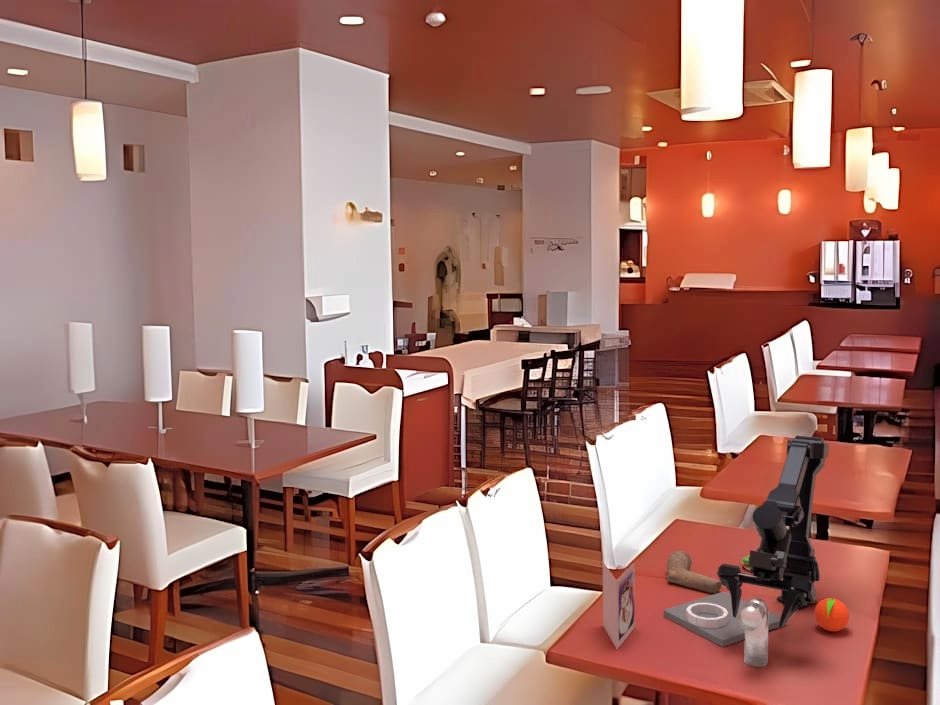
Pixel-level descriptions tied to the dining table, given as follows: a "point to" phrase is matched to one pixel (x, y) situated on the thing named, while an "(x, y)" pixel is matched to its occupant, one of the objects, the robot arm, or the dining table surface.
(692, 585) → the pipe
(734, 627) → the duct flange
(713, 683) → the dining table surface
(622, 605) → the greeting card
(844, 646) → the dining table surface
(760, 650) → the chrome ball-end rod
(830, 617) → the clementine
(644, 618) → the dining table surface
